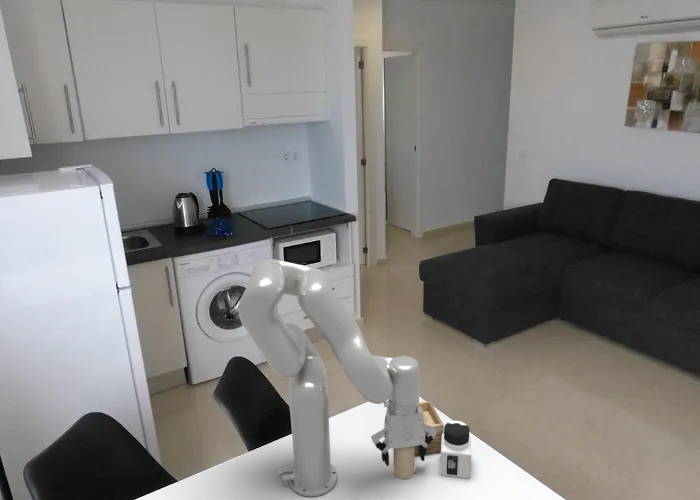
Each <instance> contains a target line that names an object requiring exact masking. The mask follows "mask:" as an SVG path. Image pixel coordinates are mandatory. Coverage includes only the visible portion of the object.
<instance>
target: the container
mask: <svg viewBox="0 0 700 500" xmlns="http://www.w3.org/2000/svg"><path fill="white" fill-rule="evenodd" d="M470 431H471V430H470V427H469V425H468V424H466V423H465V422H463V421H459V420H449V422H447V423H445V425H444V432H443V434H442V440H441V452H440V465H439V466H440V467H439V472H440V473H439V474H440V476H445V477H454V478H460V479H461V478H462V479H470V478H471V470H472V469H471V468H472V437H471V435H470Z"/></svg>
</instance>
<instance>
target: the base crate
mask: <svg viewBox="0 0 700 500" xmlns="http://www.w3.org/2000/svg"><path fill="white" fill-rule="evenodd" d="M441 440H442V436H438V437H433V440H432V441H431V442H430V443H429V444H428V447H427V448H426V455H431V454H439V453H440V454H441ZM418 456H419V445H418V446H415V451H414V457H418ZM419 457H420V456H419Z"/></svg>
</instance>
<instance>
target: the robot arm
mask: <svg viewBox="0 0 700 500" xmlns="http://www.w3.org/2000/svg"><path fill="white" fill-rule="evenodd" d="M284 295H288V296H292V297H296V300H297V303H298V305H299V307H300V309H301V310H302V311H303V313H304V314H305V315H306V317H307V318H308V320H309V321H310V322H311V323H312V325H313V326H314V327H315V328H316V331H318V332H319V334H320V335H321V337H322V338H323V339H324V341H326V343H327V344H328V346H329V347H330V349H331V351H332V353H333V355H334V357H335V358H336V359H337V362H338V363H339V364H340V366H341V369H342V370H343V371H344V373H345V375H346V376H347V378H348V379H349V381H350V383H352V385H353V386H354V388H356V389H355V390H357V392H358V393H359V394H360V395H361V396H362V397H363V399H364V400H366V401H368V402H369V403H372V404H377V405H381V404H383V407H384V408H386V412H385V416H384V424H383V427H384V428H383V429H381V430H379V431H378V432H376V433H374V434H373V435H371V436H370V438H371V442H372V443H373V445H374V446H375V447H376V448H377V449H378V450H379V451H381V460H382V462H384V464H385V467H389V466H390V454H389V450H390V449H391V450H393V449H397V448H404V447H411V446H418V445H419V459H420V460H421V461H422V462H424V461H425V457H426V456H427V454H426V448H427V447H428V444H429V443H430V442H431V441H432V440H433V437H434V436H435V434H436V432H437V431H436V429H435V428H434V427H431V426H428V425H425V424H424V416H423V411H422V408H421V406H420V405H419V402H420V372H421V371H420V364H419V362H418V361H417V359H416V358H413V357H412V356H407V355H401V356H395V357H391V356H382V355H372V353H371V352H370V350H369V347H368V346H367V343H366V341H365V338H364V336H363V332H362V330H361V328H360V327H359V325H358V323H357V322H356V320H355V319H354V317H353V315H352V314H351V313H350V311H348V308H346V306H345V305H344V304H343V302H342V301H341V299H340V298H339V297H338V296H337V294H336V292H335V291H334V290H333V288H332V281H331V279H330V276H329V275H328V274H327V273H326V272H325V271H323V270H321V269H318V268H315V267H311V266H307V265H303V264H298V263H294V262H293V263H292V262H289V261H284V260H279V259H274V258H273V259H272V258H270V259H269V258H268V259H264V260H261V261H259V262H258V263H257V264H256V265H255V266H254V267H253V268H252V271H251V274H250V277H249V280H248V283H247V286H246V288H245V290H244V291H243V294H242V296H241V298H240V299H239V303H238V309H237V310H238V316H239V320H240V322H241V324H242V327H244V329H245V330H246V332H247V333H248V335H249V337H250V338H251V340H252V341H253V343H254V344H255V346H256V347H257V349H258V351H260V353H261V355H262V356H263V358H264V359H265V361H266V363H267V364H268V366H269V367H270V368H271V370H272V371H273V372H275V374H276V375H278V376H280V377H283V378H289V382H288V383H289V384H288V404H289V412H290V413H289V414H290V422H291V423H290V425H291V435H292V437H291V438H292V439H291V440H292V449H293V452H292V454H293V460H292V464H289V465H288V466H286V467H284V466H281V467H277V468H276V471H277V472H276V473H277V477H278V476H279V477H280V476H281V479H282V482H284V481H285V482H286V481H289V486H290V488H291V489H292V490H293V491H294V492H295V493H297V494H298V495H301V496H305V497H318V496H323V495H324V494H327V493H329V492H330V491H332V490H333V488H334V487H335V486H336V484H337V482H338V472H337V469H336V468H335V466H334V465H333V464H331V463H332V462H331V458H332V457H331V441H330V440H331V439H330V418H329V417H330V415H329V404H330V403H329V388H328V379H327V369H326V366H325V362H324V361H323V359H322V357H321V356H320V355H319V353H318V351H317V349H316V348H315V347H314V345H313V343H312V342H311V340H310V338H309V337H308V336H307V334H306V333H305V331H304V330H303V329H302V328H301V327H299V326H298V325H297V324H294V323H290V322H285V320H284V319H283V317H282V316H281V315H280V314H279V312H277V308H278V306H279V304H280V302H281V300H282V299H283V297H284ZM425 431H426V432H429V433H428V434H427V435H426V436H425ZM382 438H384V439H383V441H382V442H381V441H380V439H381V440H382Z"/></svg>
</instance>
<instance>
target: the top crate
mask: <svg viewBox="0 0 700 500" xmlns="http://www.w3.org/2000/svg"><path fill="white" fill-rule="evenodd" d="M419 405H420V406H421V408H422V411H423V416H424V424H425V425H428V426H431V427H434V428H435V429H436V431H437V432H436V434H435V436H434V437H438V436H442V434H443V433H444V426H445V425H444V423H443V421H442V419H441V418H440V416H439V414H438V413H437V410H436V409H435V406H434V405H433V403H432V402H431V400H425V401H419ZM428 433H429V432H426V431H425V436H426V435H427V434H428Z"/></svg>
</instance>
